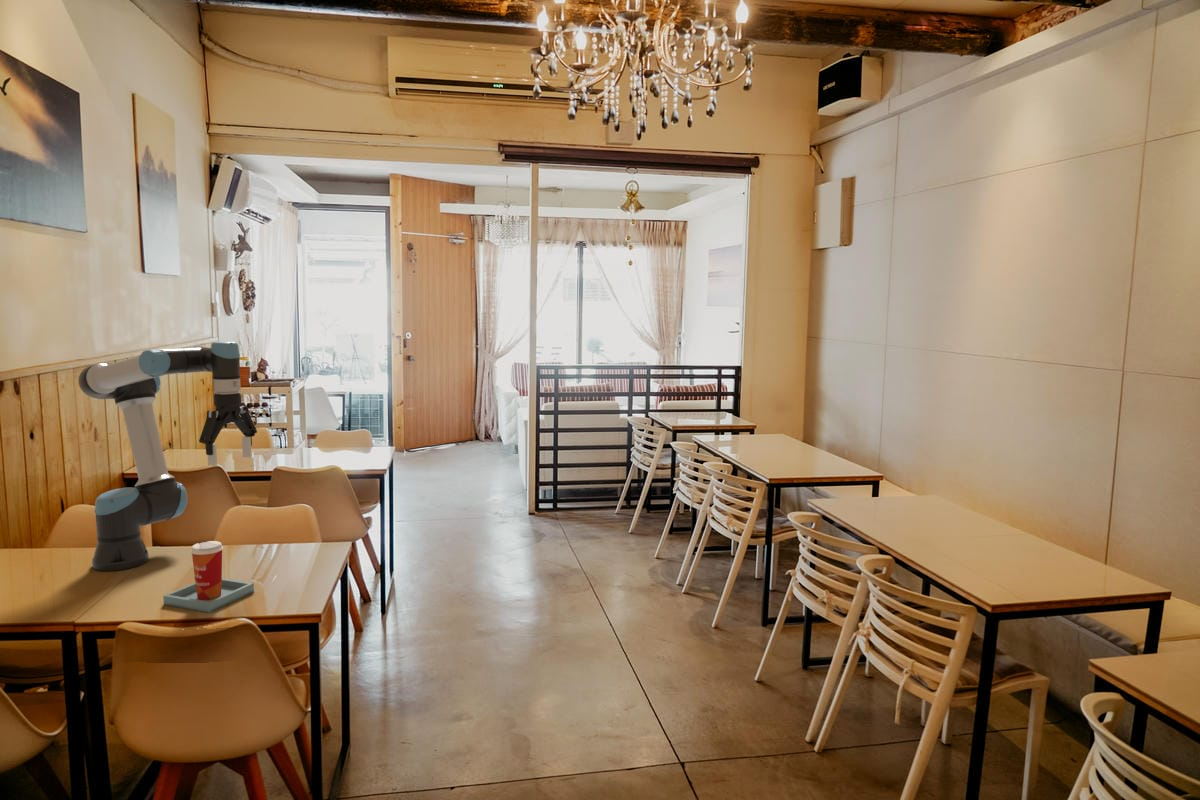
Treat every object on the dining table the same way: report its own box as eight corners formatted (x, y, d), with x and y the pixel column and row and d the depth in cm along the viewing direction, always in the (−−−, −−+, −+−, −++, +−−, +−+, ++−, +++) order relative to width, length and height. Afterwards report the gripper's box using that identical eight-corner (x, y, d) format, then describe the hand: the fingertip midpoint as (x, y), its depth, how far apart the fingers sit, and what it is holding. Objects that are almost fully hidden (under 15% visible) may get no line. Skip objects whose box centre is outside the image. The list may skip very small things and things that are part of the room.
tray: (163, 604, 206) (163, 595, 205) (210, 584, 221) (209, 576, 220) (209, 612, 201) (209, 603, 200) (254, 591, 216) (253, 583, 216)
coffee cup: (188, 595, 211) (186, 544, 209) (219, 588, 216) (217, 538, 215) (198, 604, 205) (195, 551, 203) (230, 596, 210) (227, 545, 209)
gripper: (203, 397, 214) (207, 470, 217) (267, 389, 237) (269, 454, 240) (183, 396, 216) (186, 468, 219) (248, 388, 240) (251, 452, 242)
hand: (230, 461), depth 229 cm, fingers open, 13 cm apart
